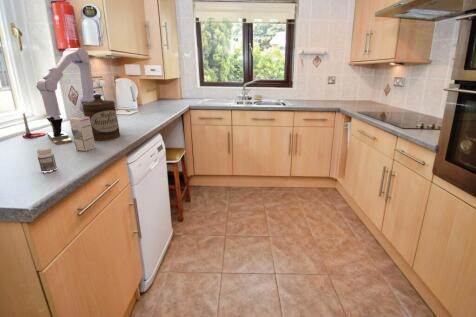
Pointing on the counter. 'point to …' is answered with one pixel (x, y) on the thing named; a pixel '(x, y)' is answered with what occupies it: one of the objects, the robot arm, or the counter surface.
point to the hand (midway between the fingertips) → (57, 131)
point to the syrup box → (82, 133)
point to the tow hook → (28, 134)
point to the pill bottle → (46, 159)
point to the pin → (55, 132)
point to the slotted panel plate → (59, 138)
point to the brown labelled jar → (102, 118)
